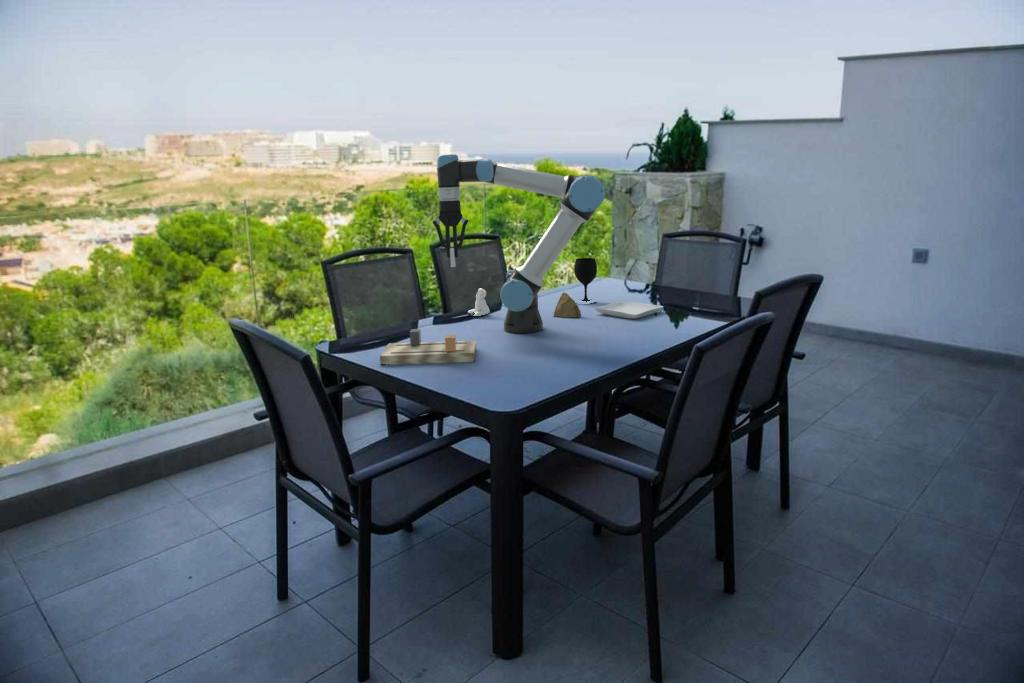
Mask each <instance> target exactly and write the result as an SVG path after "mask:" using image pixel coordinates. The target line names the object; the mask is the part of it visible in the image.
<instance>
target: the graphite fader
mask: <svg viewBox="0 0 1024 683" xmlns="http://www.w3.org/2000/svg"><path fill="white" fill-rule="evenodd" d="M421 335H422V334H421V328H411V329H410V330H409V339H410V340H409V341H410V342H409V343H411V345H420V343H421V342H422V336H421Z"/></svg>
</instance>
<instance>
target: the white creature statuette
mask: <svg viewBox="0 0 1024 683" xmlns="http://www.w3.org/2000/svg"><path fill="white" fill-rule="evenodd" d="M486 296H487V291H486V289H484V288H481V287H480V288H478V289H477V292H476V295H475V302H474V308H472V309H470V310H467V314H468V313H473V312H474V313H475V314H474V315H472V316H481V315H485V314H488V313H489V314H490V311H491V310H490V309H489V306H488V305H487V302H486V299H485V298H486ZM489 314H488V315H489Z"/></svg>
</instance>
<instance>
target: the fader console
mask: <svg viewBox="0 0 1024 683" xmlns="http://www.w3.org/2000/svg"><path fill="white" fill-rule="evenodd" d="M476 352H477V341H476V340H458V341H457V340H456V350H455V351H446V345H445V341H426V342H424V341H423V342H422V341H421V343H420V345H411V343H410V342H395V343H394V342H393V343H392V342H390V343H388V344H387V345H386V347H385V348H384V349H383V351H382V352H381V354H380V355H379V360H380V361H379V362H380V365H381V364H386V365H385V366H387V365H388V364H389V365H391V366H392V365H418V364H419V365H420V364H421V365H423V364H448V363H450V364H451V363H454V364H455V363H474V362H475V358H476ZM389 365H388V366H389Z"/></svg>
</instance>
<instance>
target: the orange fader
mask: <svg viewBox="0 0 1024 683" xmlns="http://www.w3.org/2000/svg"><path fill="white" fill-rule="evenodd" d="M456 339H457V338H456V334H446V335H445V337H444V342H445V345H446V351H455V350H456V341H457V340H456Z"/></svg>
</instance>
